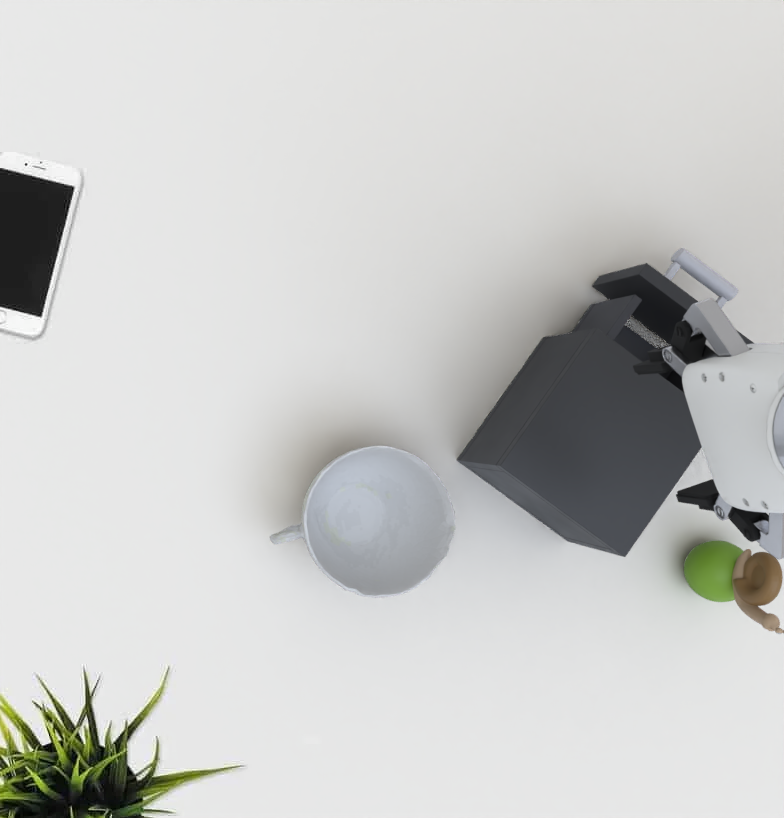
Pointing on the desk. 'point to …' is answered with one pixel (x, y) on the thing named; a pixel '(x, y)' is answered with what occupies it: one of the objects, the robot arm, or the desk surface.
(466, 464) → the air fryer
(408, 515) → the teacup
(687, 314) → the robot arm
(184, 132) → the desk surface
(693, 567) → the snail figurine
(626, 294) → the fryer drawer
